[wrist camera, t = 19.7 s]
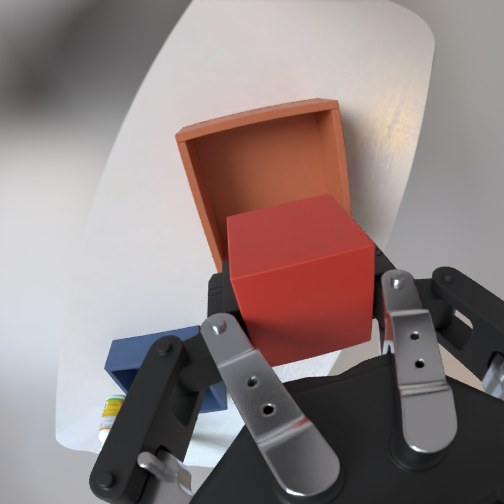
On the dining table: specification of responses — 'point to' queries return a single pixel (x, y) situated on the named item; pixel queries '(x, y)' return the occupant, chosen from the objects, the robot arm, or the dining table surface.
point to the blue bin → (133, 353)
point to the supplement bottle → (109, 415)
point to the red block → (302, 278)
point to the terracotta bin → (263, 162)
